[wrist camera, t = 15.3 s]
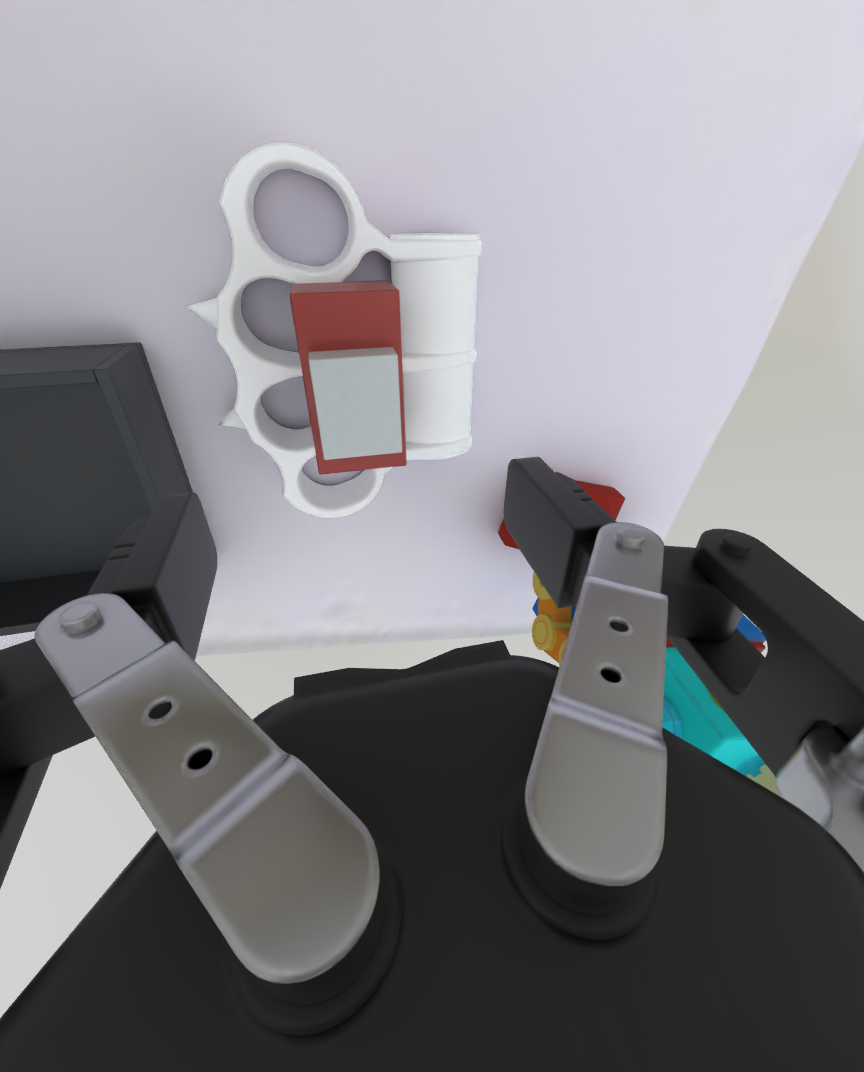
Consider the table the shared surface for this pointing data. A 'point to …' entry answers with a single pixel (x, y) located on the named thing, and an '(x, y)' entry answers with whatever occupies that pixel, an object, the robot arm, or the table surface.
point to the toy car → (352, 372)
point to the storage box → (74, 469)
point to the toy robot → (684, 692)
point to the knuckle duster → (416, 271)
